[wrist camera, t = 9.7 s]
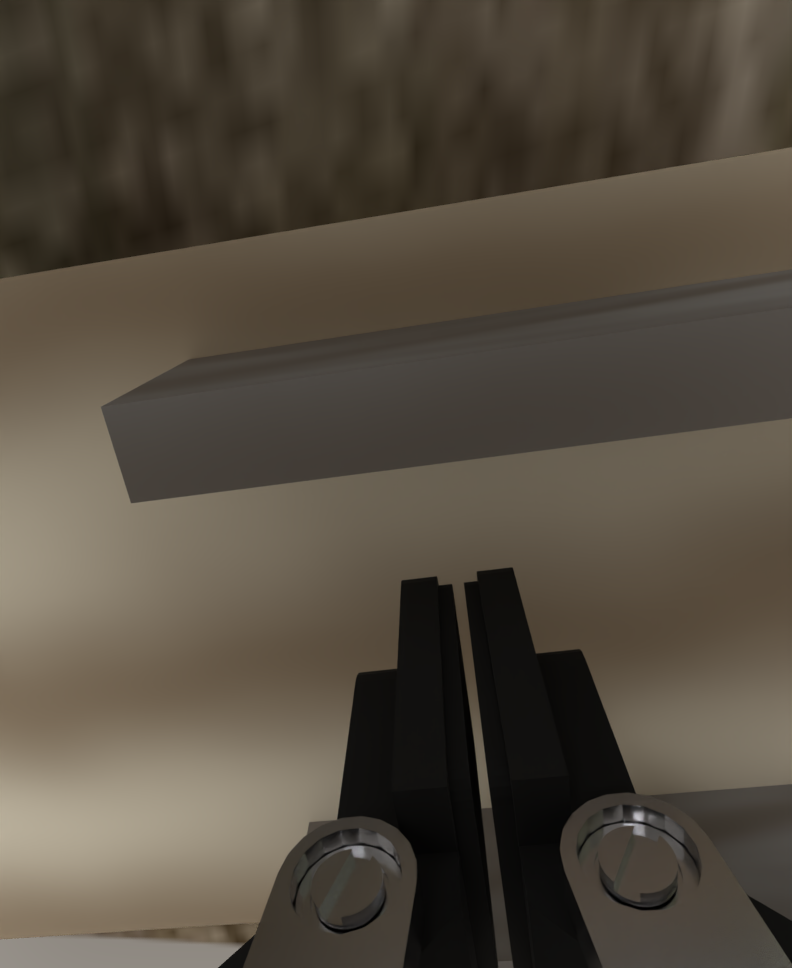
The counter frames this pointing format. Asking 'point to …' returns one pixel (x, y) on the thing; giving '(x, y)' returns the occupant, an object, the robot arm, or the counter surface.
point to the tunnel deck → (388, 522)
